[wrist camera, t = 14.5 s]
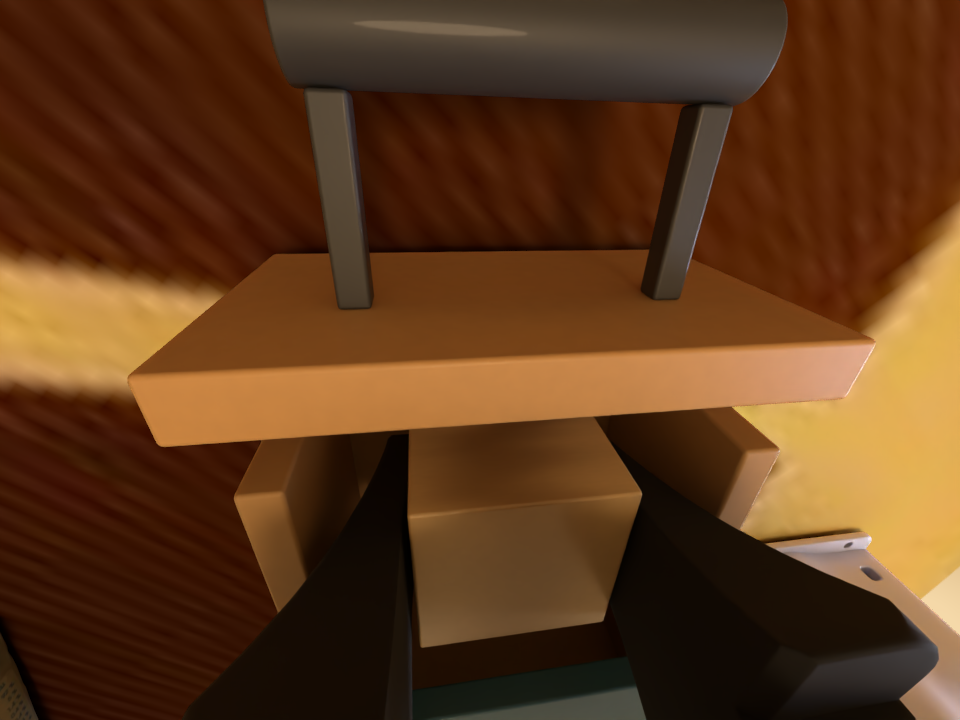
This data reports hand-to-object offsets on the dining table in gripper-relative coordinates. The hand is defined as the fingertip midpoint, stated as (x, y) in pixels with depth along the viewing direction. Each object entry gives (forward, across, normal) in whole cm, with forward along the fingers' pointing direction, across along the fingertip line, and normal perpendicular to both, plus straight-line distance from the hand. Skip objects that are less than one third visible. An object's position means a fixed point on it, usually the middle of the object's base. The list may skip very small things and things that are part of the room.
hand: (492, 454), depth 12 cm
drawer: (+2, 0, -1) cm, 3 cm away
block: (+1, 0, 0) cm, 1 cm away
